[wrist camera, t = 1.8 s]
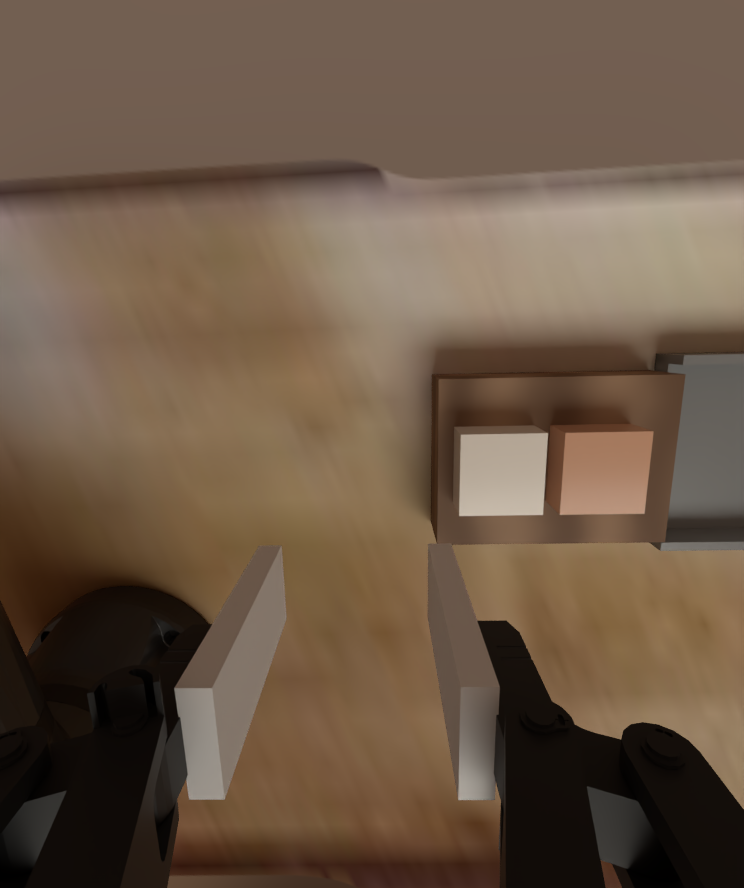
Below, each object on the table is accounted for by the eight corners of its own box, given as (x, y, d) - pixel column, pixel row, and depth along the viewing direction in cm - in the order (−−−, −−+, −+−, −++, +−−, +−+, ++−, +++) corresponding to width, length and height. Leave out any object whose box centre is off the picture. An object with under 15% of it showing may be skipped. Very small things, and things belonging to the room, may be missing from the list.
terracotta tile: (545, 500, 30) (559, 514, 28) (550, 425, 29) (565, 432, 27) (623, 499, 30) (644, 513, 28) (630, 423, 29) (653, 431, 27)
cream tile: (453, 501, 30) (459, 516, 28) (454, 426, 29) (460, 434, 27) (530, 500, 30) (542, 515, 28) (534, 425, 29) (548, 433, 27)
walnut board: (431, 522, 35) (437, 544, 31) (431, 374, 33) (438, 379, 29) (632, 519, 35) (664, 542, 31) (648, 370, 32) (685, 374, 28)
